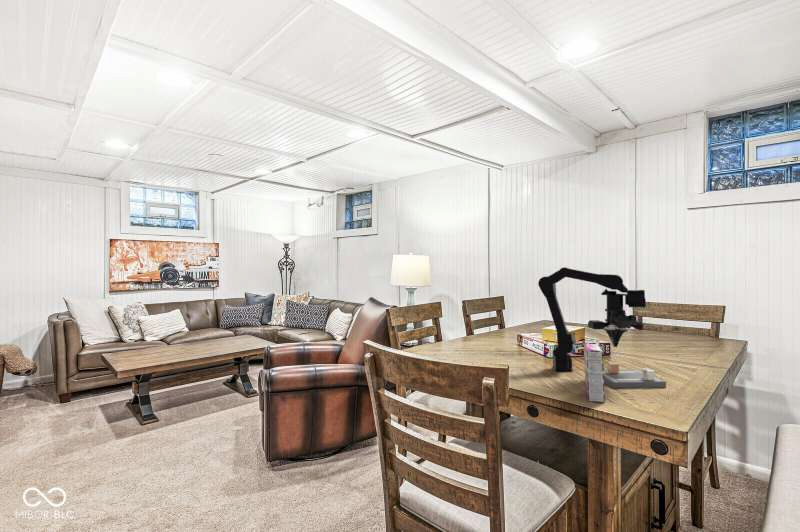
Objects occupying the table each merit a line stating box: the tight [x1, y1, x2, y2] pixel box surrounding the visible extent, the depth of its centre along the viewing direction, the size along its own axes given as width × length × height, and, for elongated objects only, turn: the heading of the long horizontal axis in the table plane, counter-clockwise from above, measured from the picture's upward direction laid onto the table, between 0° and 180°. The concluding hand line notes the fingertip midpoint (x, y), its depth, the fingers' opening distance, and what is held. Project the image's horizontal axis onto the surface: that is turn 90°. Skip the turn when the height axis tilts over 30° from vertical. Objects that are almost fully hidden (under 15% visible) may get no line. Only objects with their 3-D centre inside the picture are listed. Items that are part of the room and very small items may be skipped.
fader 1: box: [607, 362, 620, 373], centre depth 152 cm, size 2×4×3 cm
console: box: [604, 369, 667, 389], centre depth 147 cm, size 18×16×2 cm
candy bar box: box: [583, 343, 606, 404], centre depth 131 cm, size 11×5×16 cm, turn 160°
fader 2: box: [641, 368, 656, 380], centre depth 142 cm, size 2×4×3 cm
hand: (615, 346), depth 156 cm, fingers closed
